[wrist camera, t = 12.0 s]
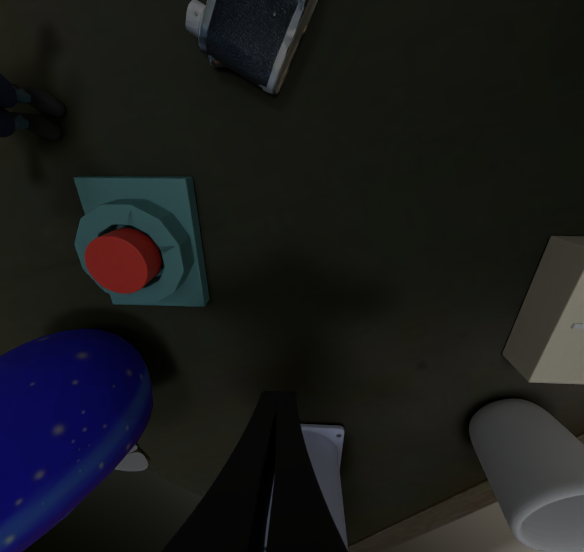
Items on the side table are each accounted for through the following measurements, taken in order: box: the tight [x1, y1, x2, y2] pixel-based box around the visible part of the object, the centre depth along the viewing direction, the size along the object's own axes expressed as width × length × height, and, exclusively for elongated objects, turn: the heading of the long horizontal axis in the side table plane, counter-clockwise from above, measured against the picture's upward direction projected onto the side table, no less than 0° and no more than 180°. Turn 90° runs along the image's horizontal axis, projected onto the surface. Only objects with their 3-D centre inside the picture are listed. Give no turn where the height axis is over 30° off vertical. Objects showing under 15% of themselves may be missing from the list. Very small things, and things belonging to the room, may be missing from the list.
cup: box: [469, 399, 584, 552], centre depth 22 cm, size 11×8×8 cm
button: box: [85, 228, 162, 294], centre depth 16 cm, size 4×4×2 cm
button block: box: [74, 176, 209, 307], centre depth 18 cm, size 9×7×3 cm
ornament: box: [0, 328, 153, 552], centre depth 17 cm, size 11×9×15 cm
